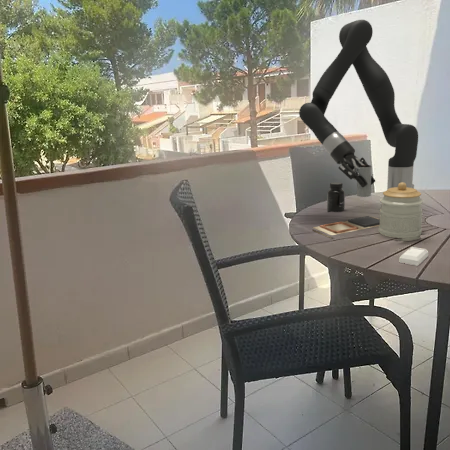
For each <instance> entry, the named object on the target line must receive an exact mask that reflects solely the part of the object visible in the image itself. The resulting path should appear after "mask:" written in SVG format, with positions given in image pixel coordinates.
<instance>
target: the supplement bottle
mask: <svg viewBox="0 0 450 450" xmlns="http://www.w3.org/2000/svg"><path fill="white" fill-rule="evenodd" d="M345 193H346V192H345V190H344V189H343V182H336V181H335V182H330V184H329V190H328V191H327V194H326V198H327V199H326V212H327V213H339V212H344V211H345V209H346V208H345V206H346V205H345V203H346V201H345V200H346V199H345V197H346V194H345Z"/></svg>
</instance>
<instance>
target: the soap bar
mask: <svg viewBox="0 0 450 450" xmlns="http://www.w3.org/2000/svg"><path fill="white" fill-rule="evenodd" d="M428 257H429V251H428V249H426V248H420V247H415V246H410V247H409V248H408V249H407V250H406V251H404V252H403V253H402V254H401V255H400V256H399V260H398V262H400V264H404V263H405V264H406V265H411V266H416V267H418V266H419V265H420V264H422V263H423V262H424V261H425V260H426V259H427V258H428Z"/></svg>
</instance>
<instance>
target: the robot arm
mask: <svg viewBox="0 0 450 450" xmlns="http://www.w3.org/2000/svg"><path fill="white" fill-rule="evenodd" d="M373 34H374V33H373V27H372V23H370V22H369V21H368V20H367V19H366V20H365V19H357V20H354V21H351V22H348V23H346V24H344V25H343V26H342V27H341V29H340V30H339V35H338V40H339V44H340V46H341V47H342V48H341V49H340V52H339V53H338V55H336V57H335V59H334V60H333V61H332V62H331V64H330V65H328V67H327V68H326V70H324V71H323V73H322V75H321V77H320V78H319V80H318V81H317V83H316V85H315V87H314V88H313V91H312V99H311V101H310V102H305V103H304V104H302V105H301V106H300V108H299V111H298V115H299V119H300V120H301V121H302V122H303V124H304V125H306V126H307V127H308V128H309V129H310V131H311V132H312V134H314V136H315V137H316V139H317V140H318V141H319V143H321V145H322V146H323V148H324V149H325V151H326V152H327V153H328V155H329V156H330V157H331V159H333V160H334V162H336V164H337V165H339V166H338V169H339V170H340V171H341V172H342V173H343V174H344V175H345V176H346V177H348V179H349V180H354V181H356V183H357V182H358V183H359V184H360V185H361V186H362V187H365V186H366V185H367V184H368V183H367V181H366V180H365V179H364V178H363V177H362V176H360V173H359V171H358V167H357V166H359V165H369V164H368V163H367V160H366V159H365V158H364V157H363V156H362V157H361V158H359V157H357V156H356V155H355V152H356V150H355V148H354V146H353V145H351V143H350V142H349V141H348V140H347V138H346V137H345V136H344V135H343V134H341V132H340V131H338V130H337V128H336V127H335V126H334V125H333V124H332V123H331V122H330V121H329V120H328V119H327V117H326V116H325V113H326V112H327V109H328V107H329V106H328V105H329V103H330V101H331V99H332V98H333V96H334V94H335V92H336V90H337V89H338V87H339V85H340V83H341V82H342V81H343V79H344V77H345V75H346V74H347V72H348V71H349V69H350V68H351V67H352V66H353V68H354V70H355V72H356V74H357V77H358V79H359V80H360V83H361V85H362V88H363V90H364V92H365V94H366V97H367V99H368V100H369V101H370V104H371V106H372V108H373V111H374V113H375V114H376V116H377V119H378V121H379V124H380V127H381V130H382V133H383V136H384V139H385V141H386V143H387V144H388V145H389V146H390V147H393V148H394V149H395V150H394V155H393V156H392V157H390V158H389V159H388V167H387V183H386V184H387V186H386V187H387V188H386V191H387V190H388V189H389V188H394V187H398V184H399V183H401V182H404V183H406V185H407V187H408V188H414V189H415V185H414V184H413V183H414V182H413V179H414V164H415V163H414V162H415V161H416V158H417V154H418V147H419V146H418V144H419V132H418V129H417V127H416V126H415V125H413V124H407V123H402V122H401V119H400V118H399V117H398V115H397V114H398V113H397V112H396V107H395V100H396V99H395V98H396V96H395V89H394V86H393V84H392V82H391V79H390V77H389V76H388V74H387V72H386V71H385V70H384V68H383V67H381V65H380V64H379V63H378V62H377V61H376V60H375V59H374V58H373V56H372V55H371V53H370V51H369V49H368V47H367V46H368V44H369V43H370V41H371V39H372V37H373ZM375 182H376V179H375V178H374V176H372V175H371V186H372V185H373V184H375Z"/></svg>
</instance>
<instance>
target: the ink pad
mask: <svg viewBox="0 0 450 450" xmlns="http://www.w3.org/2000/svg"><path fill="white" fill-rule="evenodd" d="M373 217H374V216H370V215H366V216H362V217H354V218H351V219H347V221H348V222H350V223H353V224H356V225H359V226H361V227H364V228H366V227H371V226H376V225H379V224H380V220H379V219H380V218H378V219H376V218H377V217H375V218H373Z"/></svg>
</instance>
